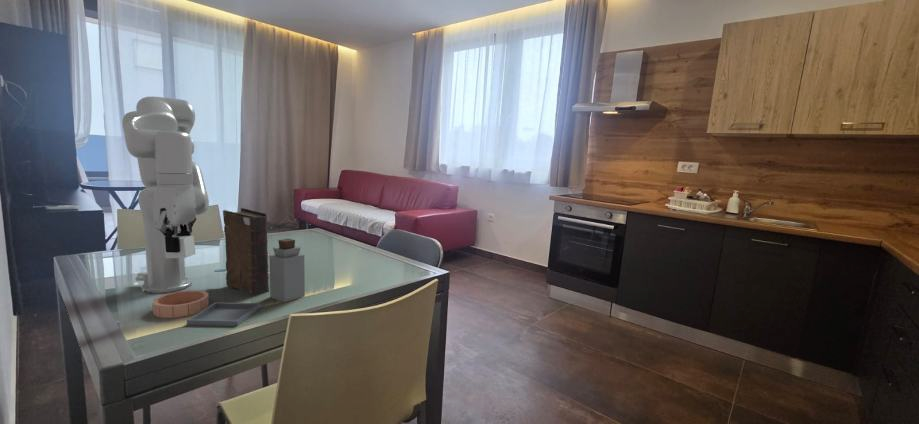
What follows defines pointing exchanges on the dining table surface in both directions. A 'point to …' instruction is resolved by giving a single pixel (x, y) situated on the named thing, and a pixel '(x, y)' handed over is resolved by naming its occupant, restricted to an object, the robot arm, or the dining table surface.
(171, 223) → the robot arm
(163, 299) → the terracotta bowl
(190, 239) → the white cube
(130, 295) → the dining table surface
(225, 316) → the tray
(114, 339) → the dining table surface
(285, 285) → the perfume bottle
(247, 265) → the book
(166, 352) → the dining table surface
